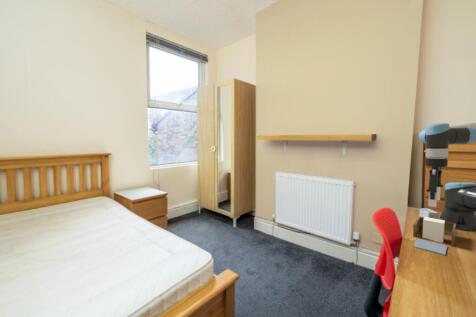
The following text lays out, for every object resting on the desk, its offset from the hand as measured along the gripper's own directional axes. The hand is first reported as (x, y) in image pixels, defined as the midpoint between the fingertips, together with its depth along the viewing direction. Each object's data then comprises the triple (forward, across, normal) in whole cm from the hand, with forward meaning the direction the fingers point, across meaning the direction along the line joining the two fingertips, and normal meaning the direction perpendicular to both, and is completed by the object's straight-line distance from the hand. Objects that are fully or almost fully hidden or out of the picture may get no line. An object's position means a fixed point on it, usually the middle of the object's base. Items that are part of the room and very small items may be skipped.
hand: (434, 203), depth 98 cm
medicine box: (+17, -16, -3) cm, 24 cm away
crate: (+17, -3, 0) cm, 17 cm away
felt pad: (+17, +11, 0) cm, 20 cm away
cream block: (+17, 0, 0) cm, 17 cm away
